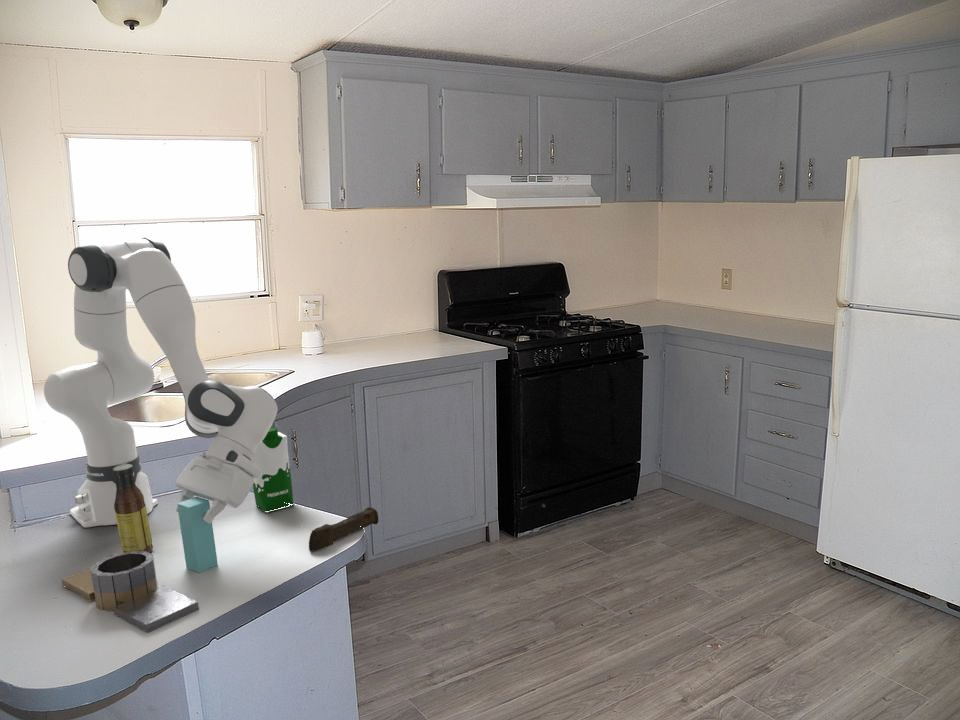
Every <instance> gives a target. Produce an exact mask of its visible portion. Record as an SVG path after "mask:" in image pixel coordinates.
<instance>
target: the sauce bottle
mask: <svg viewBox="0 0 960 720" xmlns="http://www.w3.org/2000/svg"><path fill="white" fill-rule="evenodd" d="M133 471H134V469H133V466H132V465H131V464H125V465H120V466H116V467H115V468H113V475H114V476H115V481H116V498H115V503H114V510H115V515H116V520H117V524H116V525H117V529H118V536H119V541H120V545H121V546H120V547H121V549H122V551H123V552H122V553H125V552H130V551H131V552H132V551H146V552H148V553H151V552H152V551H153V549H154V548H153V547H154V545H153V538H152V532H151V526H150V521H149V517H148V514H147V510H146V505H145V502H144V496H143V494H142V492H141V491H140V489H139V488H138V487H137V486H136V485H135V480H134V475H133Z"/></svg>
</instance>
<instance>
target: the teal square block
mask: <svg viewBox="0 0 960 720" xmlns="http://www.w3.org/2000/svg"><path fill="white" fill-rule="evenodd" d="M179 502H180V501H179ZM179 502H178V503H177V505H176V506H178V512H177V513H178V520H179V527H180V531H181V532H180V533H181V541H182V547H183V553H184V560H185V567H186V568H187V569H189V570H190V571H192V572H195V573H200V572H201V573H202V572H204V571H206V570H208V569H210V567H211V568H212V567H215V566H217V564H218V556H217V549H216V544H215V543H216V541H215V533H214V528H213V521H212V522H211V523H210V524H209V523H206V522H204V521H202V520H201V517H202V516H203V513H204V512H205V511H206V512H207V511H208V510H209V509H210V508H211V505H210V504H211V503H210V500H208V499H205V498H202V497H198V496H194V497H193V498H192V499H189V500H186V501H183V502H180V503H179Z"/></svg>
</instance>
